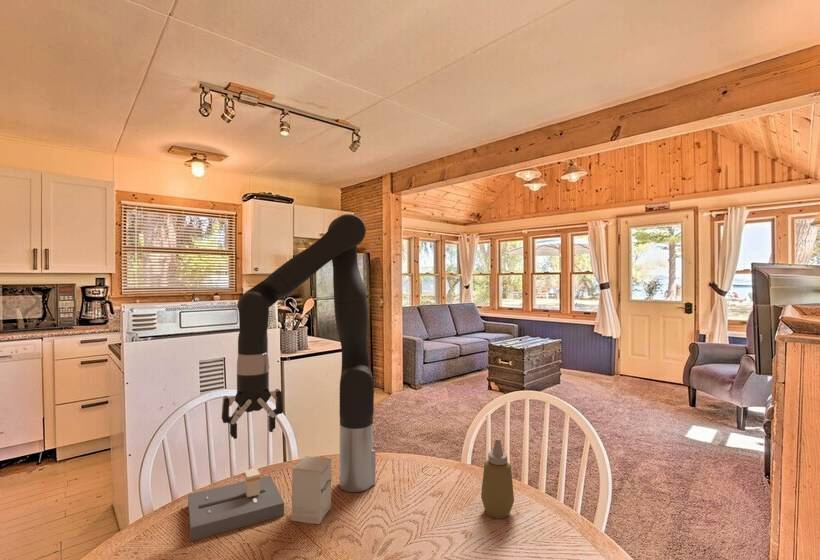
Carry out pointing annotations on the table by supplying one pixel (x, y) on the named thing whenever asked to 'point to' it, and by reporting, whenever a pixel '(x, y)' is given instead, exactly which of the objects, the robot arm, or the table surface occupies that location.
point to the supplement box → (311, 489)
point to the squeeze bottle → (497, 483)
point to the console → (232, 508)
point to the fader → (252, 482)
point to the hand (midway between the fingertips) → (253, 434)
